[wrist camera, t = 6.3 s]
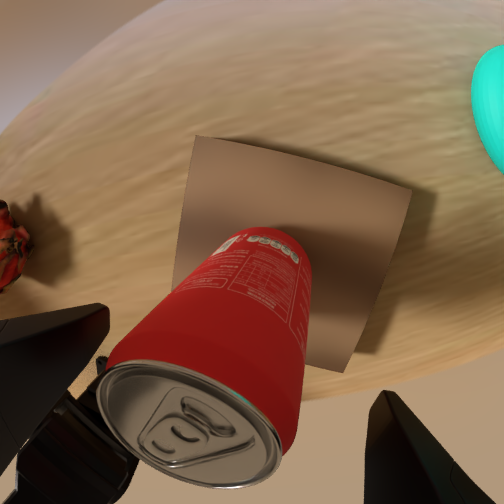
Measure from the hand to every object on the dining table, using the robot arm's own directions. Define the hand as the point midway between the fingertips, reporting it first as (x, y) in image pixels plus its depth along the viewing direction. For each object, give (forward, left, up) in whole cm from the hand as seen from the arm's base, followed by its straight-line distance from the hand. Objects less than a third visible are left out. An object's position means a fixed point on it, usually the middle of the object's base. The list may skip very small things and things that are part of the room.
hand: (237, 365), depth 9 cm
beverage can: (0, +1, -9) cm, 9 cm away
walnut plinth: (0, 0, -12) cm, 12 cm away
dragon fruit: (-6, +26, -12) cm, 29 cm away
